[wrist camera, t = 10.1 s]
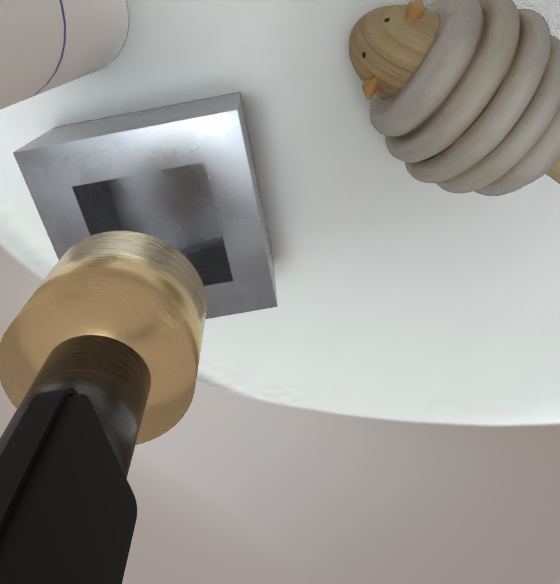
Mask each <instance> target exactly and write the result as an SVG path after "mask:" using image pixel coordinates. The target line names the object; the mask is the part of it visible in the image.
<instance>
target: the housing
mask: <svg viewBox="0 0 560 584" xmlns="http://www.w3.org/2000/svg"><path fill="white" fill-rule="evenodd" d="M13 154H14V156H15V158H16V161H17V163H18V165H19V168H20V170H21V172H22V175H23V177H24V179H25V182H26V184H27V186H28V189H29V191H30V193H31V196H32V198H33V200H34V203H35V205H36V208H37V210H38V212H39V215H40V217H41V219H42V222H43V224H44V226H45V229H46V231H47V233H48V236H49V238H50V240H51V243H52V245H53V247H54V250H55V252H56V254H57V257H58V259H59V260H60V259H61V257H62V256H63V255H64V254H65V253H66V252H67V251H68V250H69V249H70V248H71V247H72V246H74V245H75V244H76V243H78V242H79V241H81V240H83V239H85V238H87V237H90V236H92V235H95V234H99V233H103V232H109V231H131V232H138V233H142V234H146V235H150V236H152V237H155V238H158V239H160V240H162V241H164V242H166V243H168V244H169V245H171V246H172V247H174V248H175V249H177V250H178V251H179V252H180V253H181V254H183V255H184V256H185V257H186V258H187V259H188V260H189V261H190V263H191V264H192V265H193V266H194V268H195V269H196V271H197V272H198V274H199V276H200V278H201V280H202V283H203V285H204V288H205V293H206V300H207V308H206V317H205V319H208V318H214V317H220V316H225V315H231V314H237V313H243V312H249V311H254V310H260V309H266V308H272V307H277V297H276V285H275V274H274V262H273V257H272V252H271V247H270V242H269V237H268V232H267V227H266V222H265V217H264V212H263V207H262V202H261V197H260V192H259V187H258V182H257V177H256V171H255V166H254V161H253V156H252V151H251V146H250V141H249V136H248V131H247V126H246V121H245V116H244V111H243V106H242V101H241V96H240V92H238V93H232V94H227V95H222V96H217V97H211V98H206V99H201V100H196V101H191V102H185V103H180V104H175V105H170V106H164V107H159V108H154V109H149V110H144V111H138V112H133V113H128V114H123V115H117V116H112V117H107V118H102V119H96V120H91V121H86V122H81V123H76V124H70V125H65V126H60V127H55V128H53V129H51V130H50V131H48V132H46V133H45V134H43V135H41V136H40V137H38V138H36V139H35V140H33V141H31V142H30V143H28V144H26V145H25V146H23V147H21V148H20V149H18V150H16V151H15V152H13Z"/></svg>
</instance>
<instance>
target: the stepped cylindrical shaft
mask: <svg viewBox="0 0 560 584" xmlns="http://www.w3.org/2000/svg"><path fill="white" fill-rule="evenodd" d="M206 308H207V300H206V293H205V288H204V285H203V283H202V280H201V278H200V276H199V274H198V272H197V271H196V269H195V268H194V266H193V265H192V264H191V263H190V261H189V260H188V259H187V258H186V257H185V256H184V255H183V254H181V253H180V252H179V251H178V250H177V249H175V248H174V247H172V246H171V245H169V244H168V243H166V242H164V241H162V240H160V239H158V238H155V237H152V236H150V235H146V234H142V233H138V232H131V231H109V232H103V233H99V234H95V235H92V236H90V237H87V238H85V239H83V240H81V241H79V242H78V243H76V244H75V245H74V246H72V247H71V248H70V249H69V250H68V251H67V252H66V253H65V254H64V255H63V256H62V257H61V259H60V260H59V261H58V263H57V264H56V265H55V267H54V268H53V269H52V271H51V272H50V273H49V275H48V276H47V277H46V278H45V280H44V281H43V282H42V284H41V285H40V286H39V288H38V289H37V290H36V292H35V293H34V294H33V296H32V297H31V298H30V299H29V301H28V302H27V303H26V305H25V306H24V307H23V309H22V310H21V311H20V313H19V314H18V315H17V316H16V318H15V319H14V320H13V322H12V323H11V325H10V326H9V327H8V329H7V330H6V332H5V333H4V335H3V338H2V340H1V343H0V381H1V384H2V386H3V388H4V390H5V393H6V394H7V396H8V397H9V399H10V400H11V402H12V403H13V405H14V406H15V407H16V408H17V410H16V412H15V414H14V416H13V417H12V419H11V421H10V422H9V424H8V426H7V428H6V429H5V431H4V433H3V434H2V436H1V438H0V455H1V454H2V452H3V450H4V448H5V447H6V445H7V443H8V441H9V439H10V438H11V436H12V434H13V432H14V431H15V429H16V427H17V425H18V423H19V422H20V420H21V418H22V416H23V414H24V413H25V411H26V409H27V407H28V406H29V404H30V402H31V400H32V399H33V397H34V396H35V395H36V394H38V393H41V392H47V391H53V390H58V389H64V388H74V389H75V390H76V391H77V392H78V394H79V395H80V394H85V395H87V396H88V397H89V399H90V401H91V403H92V405H93V407H94V410H95V412H96V414H97V416H98V418H99V420H100V423H101V425H102V427H103V429H104V431H105V433H106V436H107V438H108V440H109V442H110V444H111V446H112V449H113V451H114V453H115V455H116V457H117V459H118V462H119V464H120V466H121V468H122V470H123V472H124V474H125V477H126V478H127V475H128V471H129V467H130V463H131V460H132V456H133V452H134V448H135V445H138V444H141V443H144V442H147V441H150V440H152V439H154V438H157V437H159V436H161V435H162V434H164V433H166V432H167V431H169V430H170V429H171V428H172V427H174V425H176V424H177V423H178V422H179V421H180V420H181V418H182V417H183V416H184V414H185V413H186V411H187V410H188V408H189V406H190V404H191V401H192V398H193V394H194V391H195V384H196V377H197V371H198V364H199V357H200V350H201V344H202V337H203V330H204V324H205V317H206Z"/></svg>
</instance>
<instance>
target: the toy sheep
mask: <svg viewBox="0 0 560 584" xmlns="http://www.w3.org/2000/svg"><path fill="white" fill-rule="evenodd" d="M349 55H350V59H351V62H352V64H353V67H354V69H355V71H356V73H357V74H358V75H359V77H360V78H361V80H362V81H363V82H364V83H363V85H362V86H363V91H364V93H365V96H366V99H370V98H372V100H371V105H370V117H371V121H372V124H373V125H374V127H375V128H376V129H377V130H378V131H379V132H380V133H381V134H384V135H385V139H386V144H387V147H388V150H389V152H390V153H391V154H392V155H393V156H394V157H395V158H397V159H399V160H401V161H405V165H406V167H407V170H408V171H409V173H410V174H411V175H412V176H413V177H414V178H415V179H417V180H419V181H422V182H426V183H437V184H438V185H439V186H440V187H441V188H442V189H444V190H446V191H449V192H452V193H466V192H471V191H475V192H477V193H479V194H482V195H487V196H499V195H504V194H507V193H511V192H513V191H516V190H518V189H520V188H522V187H523V186H525V185H527V184H529V183H531V182H533V181H535V180H537V179H538V178H540V177H541V176H543V175H544V174H545V173H546V174H547V175H548V176H550V177H551V178H552V179H554V180H555V181H556V182H558V183H559V184H560V40H559V39H558V38H556V37H555V36H552V35H550V29H549V27H548V24H547V22H546V21H545V19H544V18H543V17H542V16H541V15H540V14H539V13H537V12H535V11H533V10H529V9H519V10H518V9H517V7H516V5H515V4H514V2H513V1H512V0H436V1H435V2H434V3H432V4H431V5H430V6H429V7H428V8H427V9H426V10H425V8H424V4H423V3H422V0H412V1H410V2H409V4H408V5H407V6H403V5H396V6H386V7H381V8H378V9H375V10H373V11H371V12H369V13H367V14H366V15H364V16H363V17H362V18H360V19H359V20H358V22H357V23H356V24H355V26H354V27H353V29H352V31H351V35H350V39H349Z"/></svg>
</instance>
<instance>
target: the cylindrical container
mask: <svg viewBox="0 0 560 584" xmlns="http://www.w3.org/2000/svg"><path fill="white" fill-rule="evenodd" d="M128 23H129V16H128V8H127V3H126V0H0V109H3V108H5V107H8V106H10V105H13V104H15V103H18V102H20V101H22V100H25V99H27V98H30V97H32V96H35V95H37V94H40V93H42V92H45V91H47V90H50V89H52V88H55V87H57V86H60V85H62V84H65V83H67V82H70V81H72V80H75V79H77V78H80V77H82V76H85V75H87V74H90V73H92V72H95V71H97V70H99V69H101V68H103V67H105V66H107V65H108V64H109V63H110V62H112V61H113V60H114V59H115V58H116V57H117V55H118V54H119V53H120V51H121V49H122V47H123V45H124V43H125V41H126V37H127V33H128Z"/></svg>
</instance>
